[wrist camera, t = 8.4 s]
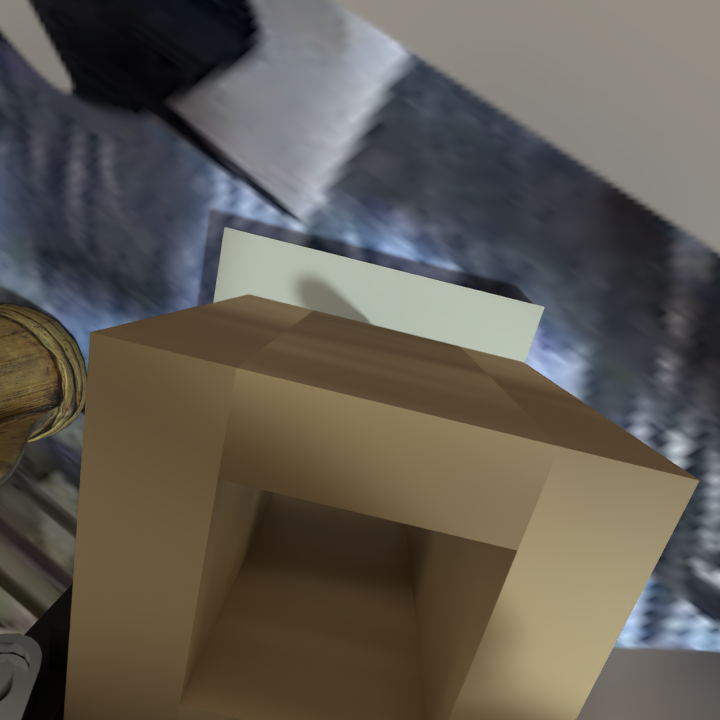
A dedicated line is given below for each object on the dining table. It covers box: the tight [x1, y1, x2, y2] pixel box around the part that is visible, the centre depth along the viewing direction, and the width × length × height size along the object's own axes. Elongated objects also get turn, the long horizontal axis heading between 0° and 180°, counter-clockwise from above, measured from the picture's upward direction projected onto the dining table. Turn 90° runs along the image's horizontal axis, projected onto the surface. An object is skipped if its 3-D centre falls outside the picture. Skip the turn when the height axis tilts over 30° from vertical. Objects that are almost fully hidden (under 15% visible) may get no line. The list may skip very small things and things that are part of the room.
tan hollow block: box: [64, 294, 699, 720], centre depth 8 cm, size 12×6×5 cm, turn 166°
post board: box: [213, 227, 544, 363], centre depth 22 cm, size 18×15×6 cm
